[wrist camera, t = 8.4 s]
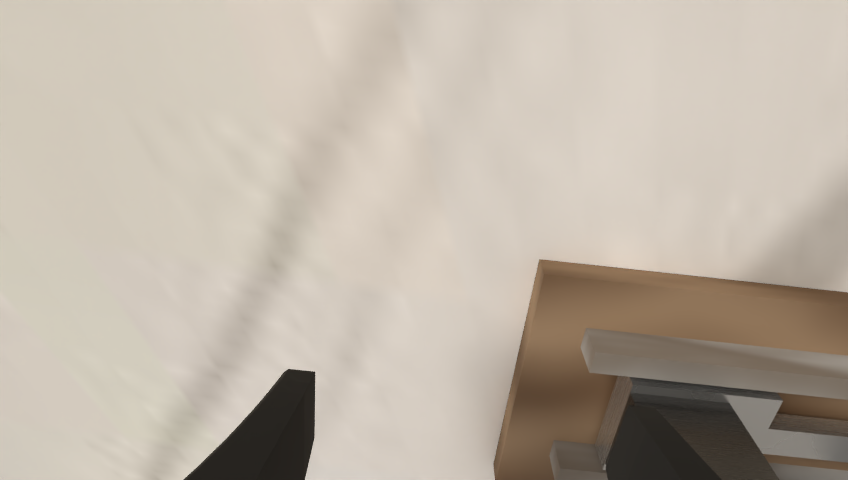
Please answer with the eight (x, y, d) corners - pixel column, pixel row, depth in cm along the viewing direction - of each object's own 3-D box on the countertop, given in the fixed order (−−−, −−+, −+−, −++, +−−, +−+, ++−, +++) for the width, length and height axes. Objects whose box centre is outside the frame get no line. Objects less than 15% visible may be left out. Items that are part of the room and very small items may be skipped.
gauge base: (859, 502, 28) (962, 634, 22) (493, 463, 28) (504, 587, 22) (993, 308, 22) (1173, 419, 17) (539, 259, 22) (569, 355, 17)
